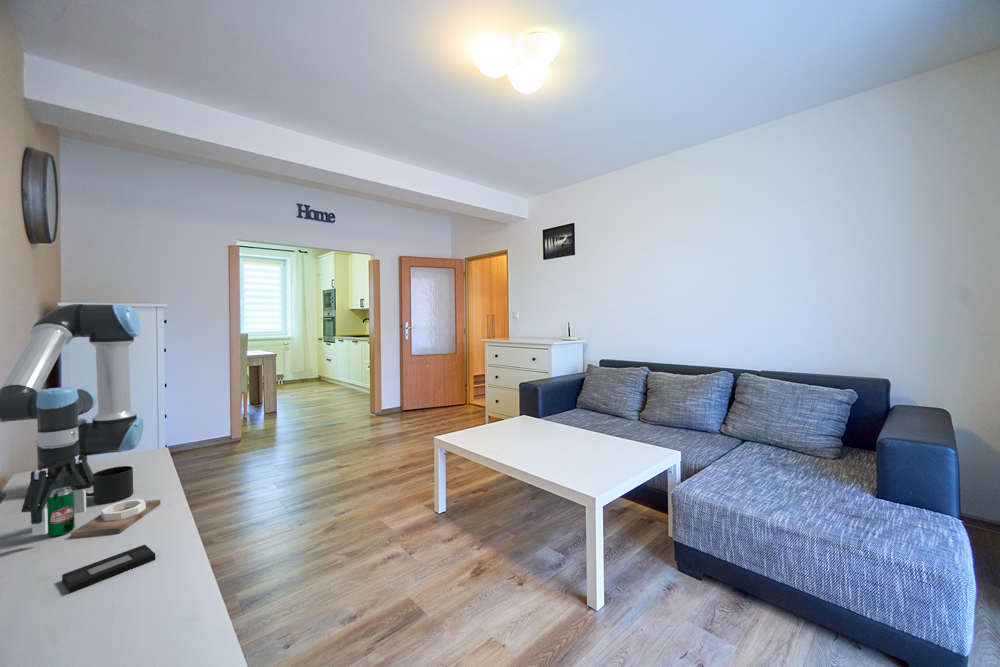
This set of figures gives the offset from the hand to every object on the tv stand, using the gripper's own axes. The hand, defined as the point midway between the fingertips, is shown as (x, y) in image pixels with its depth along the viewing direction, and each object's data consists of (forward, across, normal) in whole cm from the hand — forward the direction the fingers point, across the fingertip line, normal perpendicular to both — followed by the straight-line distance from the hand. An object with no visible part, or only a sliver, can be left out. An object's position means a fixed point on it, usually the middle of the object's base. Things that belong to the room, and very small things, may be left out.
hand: (61, 522), depth 108 cm
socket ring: (+1, +6, -11) cm, 13 cm away
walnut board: (+3, +5, -10) cm, 12 cm away
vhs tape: (+4, -23, -26) cm, 34 cm away
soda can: (+3, 0, 0) cm, 3 cm away
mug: (+3, +22, +3) cm, 22 cm away
